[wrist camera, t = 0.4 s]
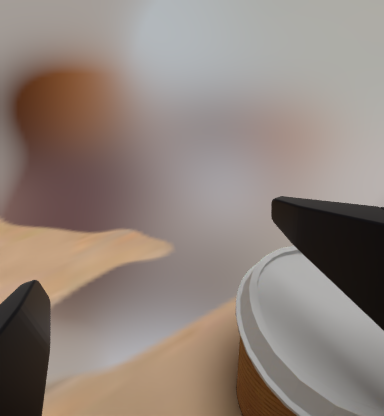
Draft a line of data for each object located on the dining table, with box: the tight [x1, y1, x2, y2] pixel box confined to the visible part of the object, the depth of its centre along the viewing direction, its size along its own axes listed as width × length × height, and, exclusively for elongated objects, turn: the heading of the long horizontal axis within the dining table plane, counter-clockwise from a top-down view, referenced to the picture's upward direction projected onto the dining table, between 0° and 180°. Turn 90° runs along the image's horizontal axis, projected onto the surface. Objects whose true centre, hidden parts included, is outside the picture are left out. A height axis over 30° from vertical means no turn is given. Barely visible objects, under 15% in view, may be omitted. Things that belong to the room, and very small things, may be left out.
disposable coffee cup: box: [236, 246, 384, 416], centre depth 15 cm, size 10×10×12 cm
